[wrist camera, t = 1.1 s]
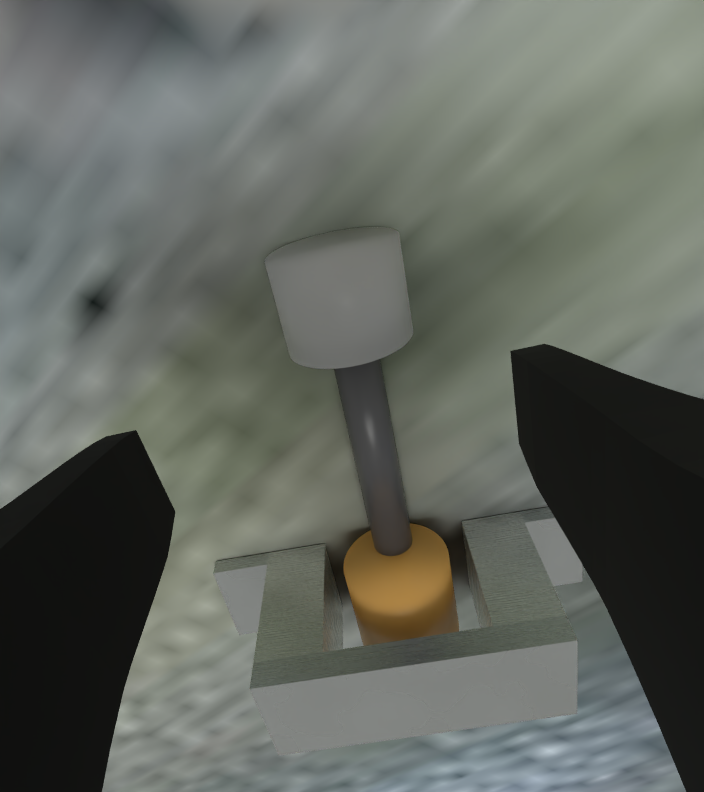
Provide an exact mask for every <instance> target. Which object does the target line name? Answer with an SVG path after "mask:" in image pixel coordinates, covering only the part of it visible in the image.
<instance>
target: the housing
mask: <svg viewBox="0 0 704 792" xmlns="http://www.w3.org/2000/svg"><path fill="white" fill-rule="evenodd" d="M462 529H463V537H464V546H465V554H466V562H467V570H468V578H469V586H470V590H471V594H472V597H473V601H474V604H475V608H476V612H477V615H478V619H479V622H480V626H481V628H479V629H472V630H466V631H459V632H452V633H446V634H439V635H433V636H426V637H419V638H413V639H406V640H400V641H393V642H386V643H380V644H373V645H367V646H360V647H353V648H347V649H343V608H342V603H341V600H340V596H339V592H338V589H337V585H336V582H335V578H334V575H333V571H332V568H331V564H330V560H329V557H328V553H327V550H326V546H325V544H319V545H313V546H307V547H301V548H295V549H289V550H283V551H277V552H271V553H264V554H258V555H252V556H246V557H240V558H234V559H228V560H222V561H216V564H215V568H214V572H213V574H214V577H215V579H216V581H217V584H218V586H219V588H220V591H221V593H222V595H223V598H224V600H225V603H226V605H227V607H228V610H229V612H230V614H231V617H232V619H233V621H234V624H235V626H236V629H237V631H238V633H239V635H242V634H248V633H254V632H258V634H257V641H256V648H255V655H254V662H253V669H252V676H251V683H250V691H251V693H252V696H253V698H254V700H255V702H256V705H257V707H258V709H259V712H260V714H261V716H262V718H263V721H264V723H265V725H266V727H267V730H268V732H269V734H270V737H271V739H272V741H273V743H274V746H275V748H276V750H277V752H278V755H286V754H293V753H300V752H308V751H315V750H322V749H329V748H336V747H343V746H350V745H358V744H365V743H372V742H379V741H386V740H393V739H400V738H407V737H415V736H422V735H429V734H436V733H443V732H450V731H457V730H464V729H472V728H479V727H486V726H493V725H500V724H507V723H514V722H521V721H529V720H536V719H543V718H550V717H557V716H564V715H571V714H577V659H578V640H577V638H576V636H575V633H574V631H573V629H572V627H571V625H570V622H569V620H568V618H567V616H566V613H565V611H564V609H563V607H562V605H561V602H560V600H559V598H558V596H557V593H556V591H555V589H554V587H553V586H558V585H564V584H571V583H577V582H582V563H581V561H580V559H579V558H578V556H577V554H576V553H575V551H574V549H573V548H572V546H571V544H570V542H569V541H568V539H567V537H566V536H565V534H564V532H563V531H562V529H561V527H560V526H559V524H558V522H557V521H556V519H555V517H554V515H553V514H552V512H551V510H550V509H549V507H545V508H539V509H533V510H527V511H521V512H515V513H509V514H502V515H496V516H490V517H484V518H478V519H472V520H466V521H462Z"/></svg>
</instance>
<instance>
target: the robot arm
mask: <svg viewBox="0 0 704 792" xmlns="http://www.w3.org/2000/svg"><path fill="white" fill-rule="evenodd" d="M511 362H512V372H513V383H514V394H515V405H516V416H517V427H518V437H519V444H520V447H521V450H522V452H523V455H524V457H525V460H526V462H527V465H528V467H529V469H530V472H531V474H532V476H533V479H534V481H535V484H536V486H537V488H538V489H539V491H540V493H541V495H542V497H543V498H544V500H545V502H546V503H547V505H548V507H549V509H550V510H551V512H552V514H553V515H554V517H555V519H556V521H557V522H558V524H559V526H560V527H561V529H562V531H563V532H564V534H565V536H566V537H567V539H568V541H569V542H570V544H571V546H572V548H573V549H574V551H575V553H576V554H577V556H578V558H579V559H580V561H581V563H582V564H583V566H584V568H585V570H586V571H587V573H588V575H589V576H590V578H591V580H592V581H593V583H594V585H595V587H596V589H597V591H598V592H599V594H600V596H601V598H602V600H603V602H604V604H605V606H606V608H607V610H608V612H609V614H610V616H611V619H612V621H613V623H614V625H615V627H616V629H617V632H618V634H619V636H620V638H621V640H622V643H623V645H624V647H625V649H626V651H627V654H628V656H629V658H630V660H631V662H632V665H633V667H634V669H635V672H636V674H637V676H638V678H639V681H640V683H641V685H642V688H643V690H644V692H645V695H646V697H647V699H648V701H649V704H650V706H651V708H652V711H653V713H654V715H655V717H656V720H657V722H658V724H659V727H660V729H661V732H662V734H663V736H664V739H665V741H666V744H667V746H668V748H669V751H670V753H671V756H672V758H673V761H674V763H675V765H676V768H677V770H678V773H679V775H680V777H681V780H682V782H683V785H684V787H685V789H686V792H704V399H700V398H697V397H693V396H690V395H686V394H683V393H680V392H677V391H674V390H670V389H667V388H664V387H661V386H658V385H655V384H652V383H649V382H646V381H643V380H640V379H637V378H634V377H632V376H629V375H626V374H624V373H621V372H618V371H616V370H613V369H610V368H608V367H605V366H603V365H600V364H598V363H595V362H593V361H590V360H588V359H585V358H583V357H580V356H578V355H575V354H572V353H570V352H567V351H565V350H562V349H559V348H556V347H553V346H550V345H546V344H542V345H537V346H532V347H527V348H523V349H518V350H513V351H511ZM174 517H175V510H174V508H173V506H172V504H171V502H170V500H169V498H168V496H167V493H166V491H165V489H164V487H163V485H162V483H161V481H160V479H159V477H158V475H157V473H156V471H155V468H154V466H153V464H152V462H151V460H150V458H149V456H148V454H147V452H146V450H145V448H144V446H143V443H142V441H141V439H140V437H139V435H138V433H137V431H136V430H135V431H130V432H125V433H121V434H116V435H111V436H106V437H104V438H103V439H101V440H99V441H97V442H95V443H93V444H92V445H90V446H89V447H87V448H85V449H84V450H82V451H81V452H79V453H78V454H76V455H75V456H74V457H72V458H71V459H69V460H68V461H66V462H65V463H64V464H62V465H61V466H60V467H58V468H57V469H55V470H54V471H53V472H51V473H50V474H48V475H47V476H46V477H44V478H43V479H42V480H40V481H39V482H37V483H36V484H35V485H33V486H32V487H31V488H29V489H28V490H26V491H25V492H24V493H22V494H21V495H20V496H18V497H17V498H16V499H14V500H13V501H11V502H10V503H8V504H7V505H6V506H4V507H3V508H1V509H0V792H102V788H103V783H104V778H105V772H106V767H107V762H108V757H109V752H110V747H111V743H112V738H113V734H114V729H115V725H116V721H117V716H118V712H119V708H120V703H121V699H122V694H123V690H124V687H125V684H126V680H127V677H128V674H129V670H130V667H131V664H132V661H133V658H134V655H135V652H136V649H137V646H138V643H139V640H140V637H141V635H142V632H143V629H144V626H145V623H146V620H147V617H148V614H149V611H150V608H151V605H152V603H153V600H154V597H155V594H156V591H157V588H158V585H159V582H160V579H161V576H162V573H163V570H164V566H165V563H166V560H167V557H168V551H169V546H170V541H171V536H172V530H173V523H174Z"/></svg>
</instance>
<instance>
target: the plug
mask: <svg viewBox="0 0 704 792" xmlns="http://www.w3.org/2000/svg"><path fill="white" fill-rule="evenodd" d="M264 262H265V265H266V269H267V273H268V277H269V280H270V284H271V288H272V292H273V295H274V299H275V303H276V307H277V311H278V314H279V318H280V322H281V326H282V329H283V333H284V337H285V341H286V344H287V348H288V352H289V356H290V358H291V359H292V360H293V361H294V362H295V363H297V364H299V365H302V366H305V367H309V368H316V369H334V370H335V375H336V379H337V384H338V388H339V393H340V397H341V401H342V406H343V410H344V415H345V419H346V423H347V428H348V432H349V437H350V441H351V446H352V450H353V454H354V459H355V463H356V468H357V472H358V477H359V481H360V485H361V490H362V494H363V499H364V503H365V508H366V512H367V516H368V521H369V525H370V531H368V532H366V533H365V534H363V535H362V536H361V537H359V538H358V539H357V540H356V541H355V542H354V543H353V544H352V546H351V547H350V548H349V550H348V552H347V554H346V556H345V559H344V567H343V569H344V575H345V579H346V582H347V586H348V590H349V593H350V597H351V601H352V605H353V608H354V612H355V616H356V619H357V623H358V627H359V631H360V634H361V638H362V642H363V645H364V646H367V645H373V644H380V643H386V642H393V641H400V640H406V639H413V638H419V637H426V636H433V635H439V634H446V633H452V632H459V623H458V616H457V609H456V601H455V594H454V587H453V580H452V573H451V566H450V559H449V553H448V549H447V546H446V544H445V542H444V541H443V540H442V538H441V537H440V536H439V535H438V534H436V533H435V532H434V531H432V530H430V529H428V528H426V527H424V526H421V525H417V524H412V523H409V517H408V512H407V506H406V501H405V495H404V489H403V484H402V478H401V473H400V467H399V462H398V456H397V451H396V445H395V440H394V434H393V429H392V423H391V418H390V412H389V407H388V401H387V396H386V390H385V384H384V379H383V373H382V368H381V362H380V359H381V358H383V357H386V356H388V355H390V354H392V353H394V352H396V351H397V350H399V349H400V348H402V347H403V346H404V345H406V344H407V343H408V342H409V340H410V339H411V338H412V335H413V324H412V317H411V311H410V304H409V297H408V290H407V283H406V276H405V269H404V262H403V256H402V249H401V242H400V235H399V232H398V231H397V230H395V229H392V228H387V227H359V228H350V229H344V230H338V231H332V232H327V233H323V234H319V235H315V236H311V237H307V238H304V239H301V240H298V241H295V242H292V243H290V244H287V245H285V246H283V247H280V248H278V249H277V250H275V251H273V252H272V253H270V254H269V255H268V256H267V257H266V258H265V261H264Z"/></svg>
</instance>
